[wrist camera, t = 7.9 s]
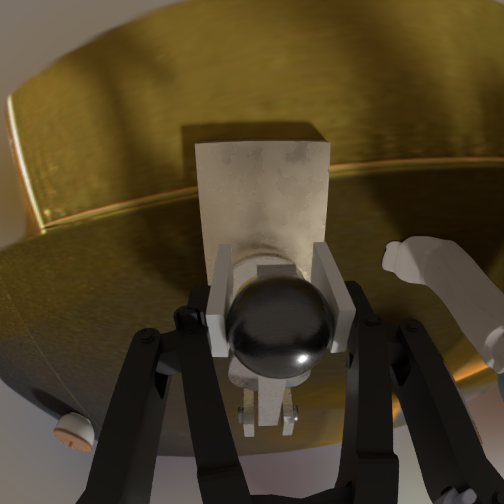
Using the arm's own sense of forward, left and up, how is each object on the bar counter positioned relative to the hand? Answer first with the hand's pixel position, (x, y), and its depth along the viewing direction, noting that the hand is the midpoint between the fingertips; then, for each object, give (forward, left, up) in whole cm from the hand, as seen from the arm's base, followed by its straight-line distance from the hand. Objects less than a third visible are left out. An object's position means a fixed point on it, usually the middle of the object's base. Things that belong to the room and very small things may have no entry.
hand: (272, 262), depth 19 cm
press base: (+5, +5, -15) cm, 16 cm away
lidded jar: (+72, +6, -15) cm, 74 cm away
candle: (-9, +22, -15) cm, 28 cm away
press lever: (+6, +6, -2) cm, 8 cm away
